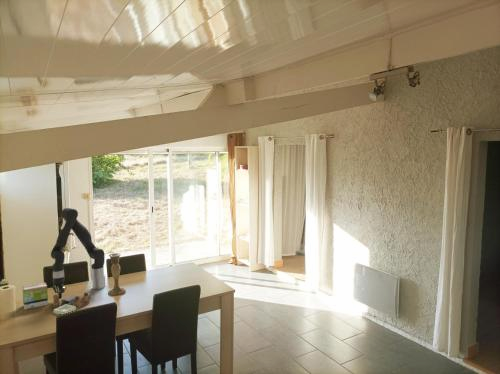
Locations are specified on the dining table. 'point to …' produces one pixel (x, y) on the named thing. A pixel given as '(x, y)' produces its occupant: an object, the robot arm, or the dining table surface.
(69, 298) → the grey rectangular block
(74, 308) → the tray
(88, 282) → the dining table surface
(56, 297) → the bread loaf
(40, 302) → the tea box
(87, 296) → the block
